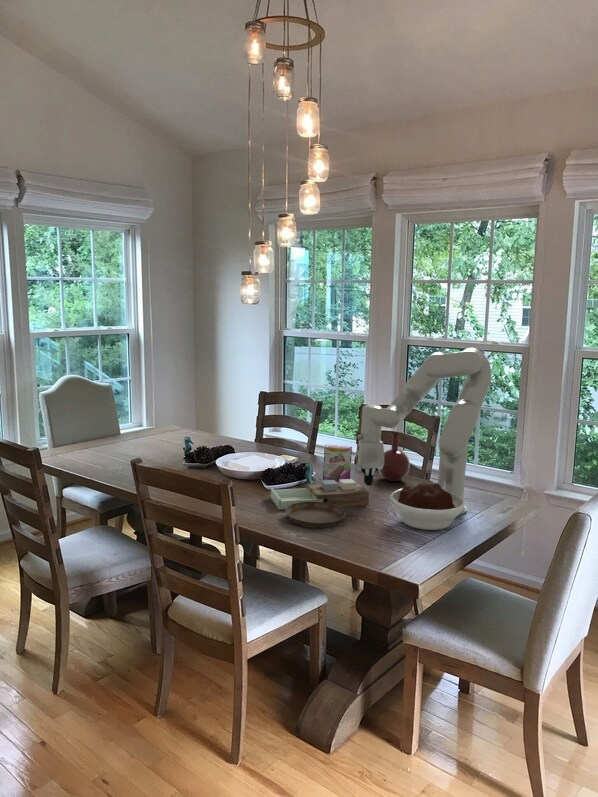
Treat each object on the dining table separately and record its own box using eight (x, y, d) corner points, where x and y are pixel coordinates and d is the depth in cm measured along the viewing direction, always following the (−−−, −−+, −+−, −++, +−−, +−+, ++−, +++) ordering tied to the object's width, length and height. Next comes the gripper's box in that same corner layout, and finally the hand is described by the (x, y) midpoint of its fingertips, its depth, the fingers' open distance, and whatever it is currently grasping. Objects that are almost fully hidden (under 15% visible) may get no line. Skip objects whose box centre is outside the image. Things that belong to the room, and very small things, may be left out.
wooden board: (368, 505, 253) (368, 492, 252) (316, 508, 248) (317, 495, 247) (355, 493, 266) (355, 481, 265) (306, 496, 261) (306, 483, 260)
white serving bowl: (412, 507, 252) (414, 468, 249) (475, 524, 236) (478, 482, 234) (374, 524, 233) (377, 482, 230) (440, 544, 217) (444, 499, 215)
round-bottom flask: (380, 474, 294) (383, 429, 290) (411, 478, 289) (414, 432, 286) (373, 482, 281) (376, 435, 278) (405, 486, 277) (408, 439, 274)
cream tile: (355, 488, 255) (356, 482, 255) (343, 489, 254) (343, 483, 254) (351, 484, 260) (351, 478, 260) (338, 485, 259) (339, 479, 258)
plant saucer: (356, 525, 232) (357, 515, 232) (304, 534, 222) (304, 525, 222) (324, 507, 250) (325, 498, 249) (274, 515, 240) (275, 506, 239)
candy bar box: (322, 486, 274) (323, 447, 271) (323, 483, 279) (324, 444, 276) (350, 488, 273) (352, 448, 270) (350, 484, 278) (352, 445, 275)
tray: (323, 507, 249) (323, 496, 248) (279, 509, 244) (279, 499, 244) (312, 495, 262) (313, 485, 261) (270, 498, 257) (270, 488, 256)
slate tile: (338, 489, 254) (338, 483, 253) (325, 490, 252) (325, 484, 252) (333, 485, 258) (334, 479, 258) (321, 486, 257) (321, 480, 256)
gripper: (355, 440, 251) (353, 488, 254) (393, 439, 255) (390, 486, 258) (348, 436, 258) (346, 482, 261) (385, 434, 262) (382, 480, 265)
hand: (368, 484), depth 259 cm, fingers closed
